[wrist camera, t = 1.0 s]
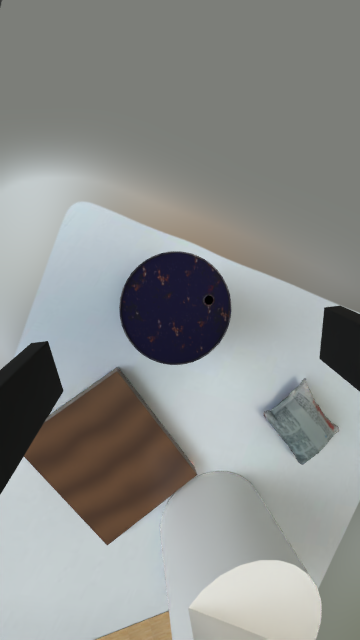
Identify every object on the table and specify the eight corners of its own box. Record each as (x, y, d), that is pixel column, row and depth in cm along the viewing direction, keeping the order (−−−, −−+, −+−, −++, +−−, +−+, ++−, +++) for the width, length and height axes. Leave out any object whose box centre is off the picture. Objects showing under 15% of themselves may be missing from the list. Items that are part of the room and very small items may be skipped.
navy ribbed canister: (135, 346, 36) (137, 381, 21) (114, 278, 35) (101, 267, 20) (200, 326, 37) (244, 346, 23) (183, 260, 36) (217, 237, 21)
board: (19, 436, 34) (12, 444, 32) (117, 366, 36) (116, 370, 34) (108, 532, 38) (107, 545, 36) (194, 466, 40) (197, 475, 38)
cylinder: (224, 583, 43) (388, 1103, 15) (138, 547, 39) (149, 1137, 12) (280, 497, 43) (539, 853, 16) (199, 453, 39) (351, 813, 12)
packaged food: (295, 373, 41) (316, 384, 36) (330, 424, 43) (355, 440, 39) (254, 407, 40) (270, 423, 36) (292, 457, 43) (312, 478, 38)
